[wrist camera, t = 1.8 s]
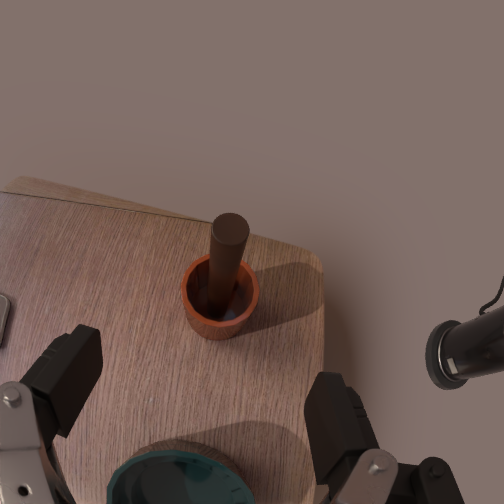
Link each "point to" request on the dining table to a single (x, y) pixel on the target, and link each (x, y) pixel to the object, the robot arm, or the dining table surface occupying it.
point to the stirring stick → (225, 260)
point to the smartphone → (3, 314)
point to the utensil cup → (197, 297)
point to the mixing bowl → (178, 477)
